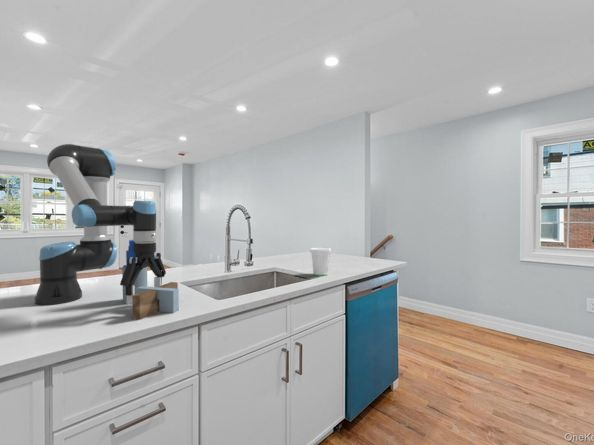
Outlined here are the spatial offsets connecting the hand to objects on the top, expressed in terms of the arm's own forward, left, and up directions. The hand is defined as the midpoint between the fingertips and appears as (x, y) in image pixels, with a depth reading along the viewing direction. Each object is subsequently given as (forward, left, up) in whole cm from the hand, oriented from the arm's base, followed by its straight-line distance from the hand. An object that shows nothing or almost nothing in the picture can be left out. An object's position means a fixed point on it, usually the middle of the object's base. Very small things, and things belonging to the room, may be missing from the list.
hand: (145, 298), depth 110 cm
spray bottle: (-12, +8, -4) cm, 15 cm away
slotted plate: (+5, 0, -4) cm, 7 cm away
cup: (+54, +78, -4) cm, 95 cm away
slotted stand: (+5, 0, -4) cm, 7 cm away
